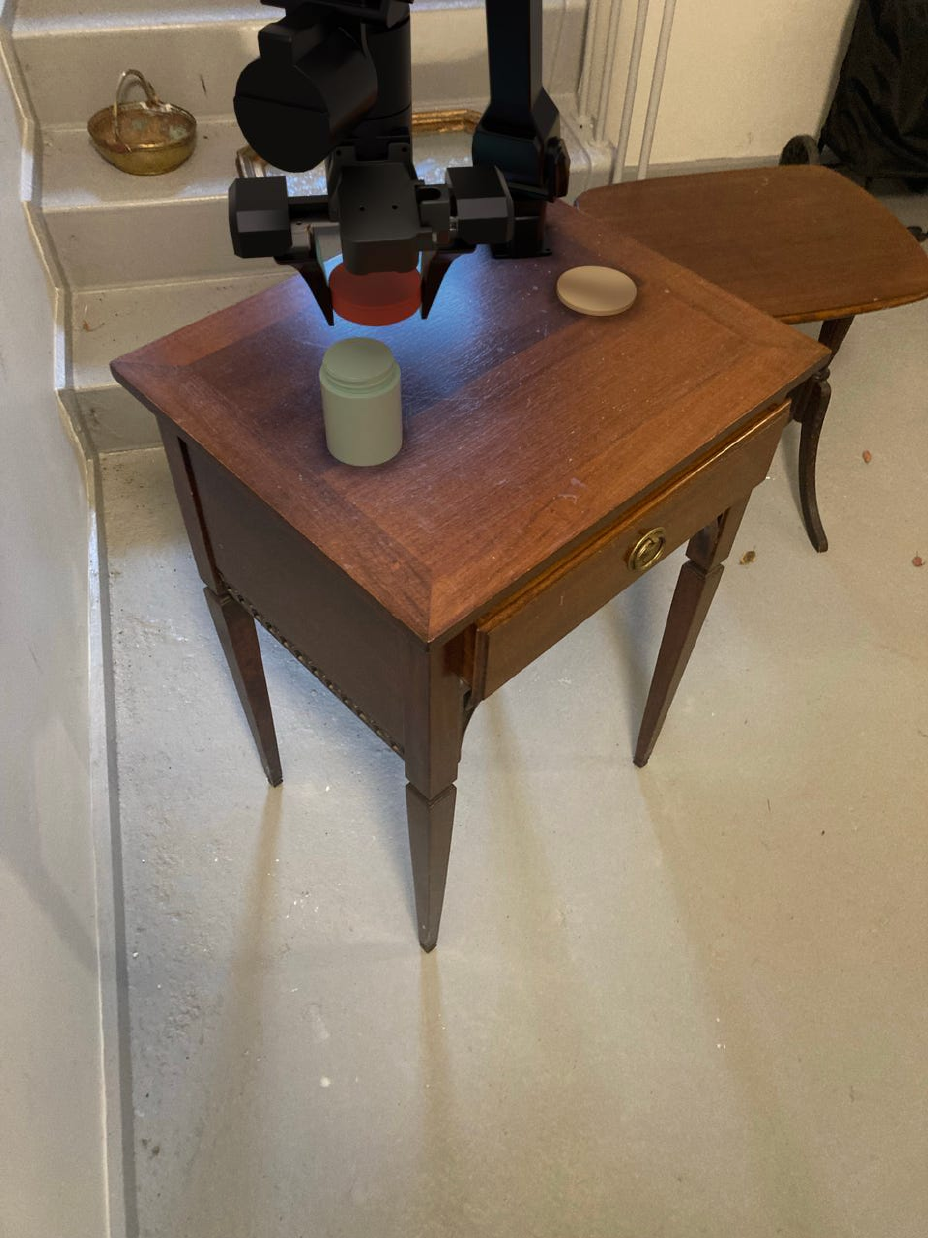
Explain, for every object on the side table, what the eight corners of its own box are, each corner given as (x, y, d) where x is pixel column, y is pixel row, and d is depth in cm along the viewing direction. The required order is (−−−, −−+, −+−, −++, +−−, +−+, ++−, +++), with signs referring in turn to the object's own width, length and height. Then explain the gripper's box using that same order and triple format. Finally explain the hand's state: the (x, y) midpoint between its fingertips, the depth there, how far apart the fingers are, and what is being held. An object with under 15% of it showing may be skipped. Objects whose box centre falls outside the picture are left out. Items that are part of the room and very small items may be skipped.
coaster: (548, 273, 95) (549, 267, 95) (623, 268, 96) (624, 263, 96) (566, 318, 90) (566, 313, 90) (645, 313, 91) (646, 307, 91)
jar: (324, 419, 80) (314, 335, 74) (398, 413, 81) (395, 329, 74) (329, 470, 76) (319, 386, 70) (407, 463, 77) (405, 379, 70)
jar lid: (384, 263, 72) (383, 243, 70) (441, 303, 69) (441, 282, 67) (311, 295, 69) (309, 275, 67) (367, 338, 66) (366, 317, 64)
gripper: (209, 170, 51) (252, 398, 64) (540, 154, 54) (520, 377, 66) (211, 83, 58) (249, 304, 70) (505, 72, 60) (492, 288, 73)
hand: (377, 319), depth 70 cm, fingers closed on jar lid, 6 cm apart
